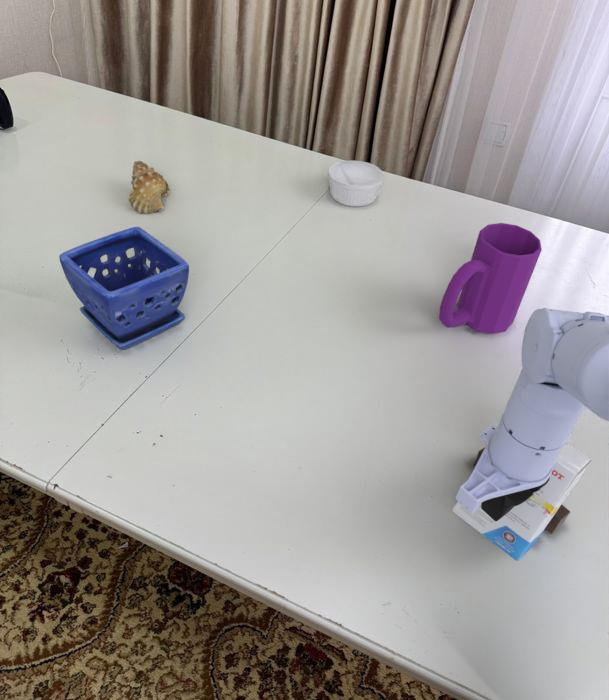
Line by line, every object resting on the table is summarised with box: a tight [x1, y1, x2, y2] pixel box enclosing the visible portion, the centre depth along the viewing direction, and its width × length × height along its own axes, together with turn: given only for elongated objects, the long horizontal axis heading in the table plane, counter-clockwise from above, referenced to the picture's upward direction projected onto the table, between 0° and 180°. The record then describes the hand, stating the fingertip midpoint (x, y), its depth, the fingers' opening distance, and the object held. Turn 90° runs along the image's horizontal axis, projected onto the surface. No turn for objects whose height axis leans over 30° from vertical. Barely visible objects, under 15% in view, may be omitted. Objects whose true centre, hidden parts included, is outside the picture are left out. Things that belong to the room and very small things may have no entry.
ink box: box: [451, 442, 593, 561], centre depth 68 cm, size 8×8×12 cm
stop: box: [473, 446, 571, 535], centre depth 75 cm, size 12×2×3 cm, turn 38°
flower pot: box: [58, 226, 190, 351], centre depth 90 cm, size 13×13×12 cm
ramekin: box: [327, 159, 385, 208], centre depth 126 cm, size 11×11×5 cm
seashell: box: [127, 160, 171, 215], centre depth 119 cm, size 9×8×10 cm
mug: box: [438, 222, 542, 335], centre depth 94 cm, size 9×16×15 cm, turn 124°
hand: (492, 511), depth 64 cm, fingers closed
